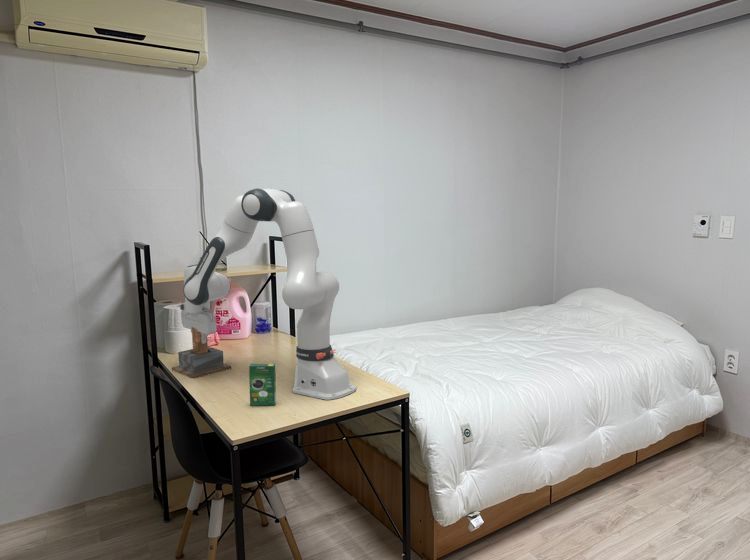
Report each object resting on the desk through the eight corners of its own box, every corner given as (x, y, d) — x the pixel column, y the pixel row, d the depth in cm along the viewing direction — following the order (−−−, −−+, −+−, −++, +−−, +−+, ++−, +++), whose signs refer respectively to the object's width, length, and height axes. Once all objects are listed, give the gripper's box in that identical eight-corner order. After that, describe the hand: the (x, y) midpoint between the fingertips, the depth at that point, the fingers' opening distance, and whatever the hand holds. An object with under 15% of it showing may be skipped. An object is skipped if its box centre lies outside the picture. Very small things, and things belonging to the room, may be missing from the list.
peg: (207, 352, 200) (206, 326, 198) (198, 354, 197) (196, 328, 196) (202, 350, 203) (201, 325, 201) (193, 352, 200) (191, 327, 198)
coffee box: (277, 402, 165) (275, 362, 163) (275, 406, 162) (274, 365, 160) (252, 403, 165) (250, 362, 163) (249, 406, 162) (247, 365, 160)
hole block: (231, 368, 201) (230, 350, 200) (192, 378, 189) (191, 360, 188) (209, 360, 212) (208, 344, 211) (171, 369, 200) (170, 352, 199)
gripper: (219, 308, 193) (221, 345, 194) (192, 302, 206) (194, 336, 208) (204, 311, 188) (206, 348, 190) (177, 304, 202) (179, 339, 204)
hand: (199, 342), depth 199 cm, fingers closed on peg, 4 cm apart
